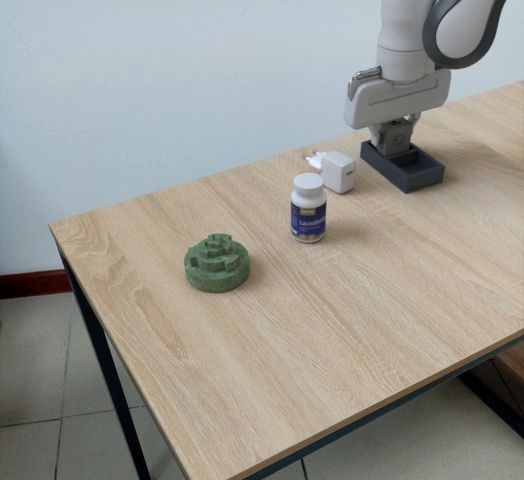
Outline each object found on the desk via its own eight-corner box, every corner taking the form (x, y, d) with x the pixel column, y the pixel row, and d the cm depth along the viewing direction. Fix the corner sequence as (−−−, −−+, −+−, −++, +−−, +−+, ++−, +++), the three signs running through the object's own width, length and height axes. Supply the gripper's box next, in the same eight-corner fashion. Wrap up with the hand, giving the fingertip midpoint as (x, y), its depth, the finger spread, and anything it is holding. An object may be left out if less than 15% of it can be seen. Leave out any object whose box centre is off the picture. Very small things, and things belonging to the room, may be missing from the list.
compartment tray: (394, 147, 107) (396, 132, 105) (442, 181, 97) (445, 166, 95) (359, 157, 105) (361, 142, 103) (405, 193, 95) (407, 178, 93)
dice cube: (384, 156, 99) (388, 130, 96) (372, 144, 103) (375, 118, 99) (408, 150, 100) (412, 124, 96) (395, 139, 103) (399, 113, 100)
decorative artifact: (187, 254, 87) (186, 295, 80) (179, 218, 81) (178, 258, 75) (247, 249, 87) (252, 289, 80) (244, 212, 82) (248, 251, 75)
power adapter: (298, 174, 102) (297, 145, 97) (316, 165, 104) (317, 136, 99) (338, 197, 96) (340, 167, 91) (357, 187, 97) (360, 157, 93)
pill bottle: (300, 248, 86) (300, 193, 79) (285, 229, 90) (283, 176, 82) (331, 238, 88) (334, 183, 80) (315, 220, 91) (316, 167, 84)
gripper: (359, 80, 85) (352, 160, 96) (462, 54, 90) (446, 133, 101) (339, 67, 89) (335, 146, 100) (439, 43, 94) (425, 120, 105)
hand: (391, 139), depth 100 cm, fingers closed on dice cube, 5 cm apart
